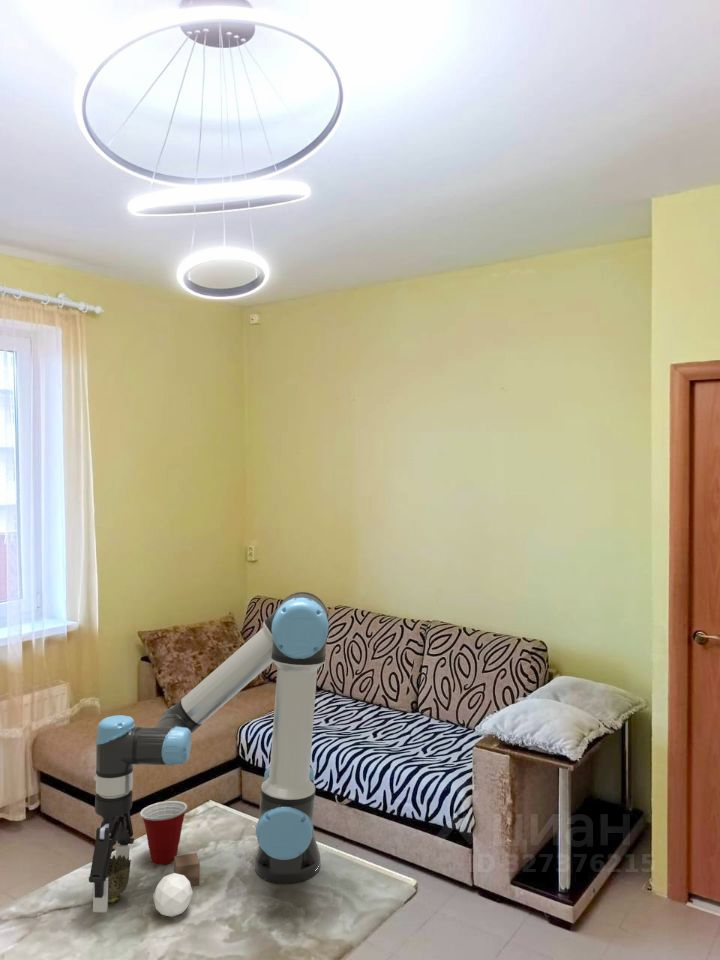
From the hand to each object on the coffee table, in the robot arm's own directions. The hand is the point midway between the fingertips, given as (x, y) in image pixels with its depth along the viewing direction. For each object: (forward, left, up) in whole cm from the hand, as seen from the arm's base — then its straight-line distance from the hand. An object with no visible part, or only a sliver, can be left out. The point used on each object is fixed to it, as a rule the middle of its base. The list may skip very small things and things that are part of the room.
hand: (111, 892), depth 152 cm
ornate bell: (0, 0, -2) cm, 2 cm away
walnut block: (-14, -8, -2) cm, 16 cm away
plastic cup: (-6, -18, -2) cm, 19 cm away
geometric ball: (-14, +4, -2) cm, 15 cm away
